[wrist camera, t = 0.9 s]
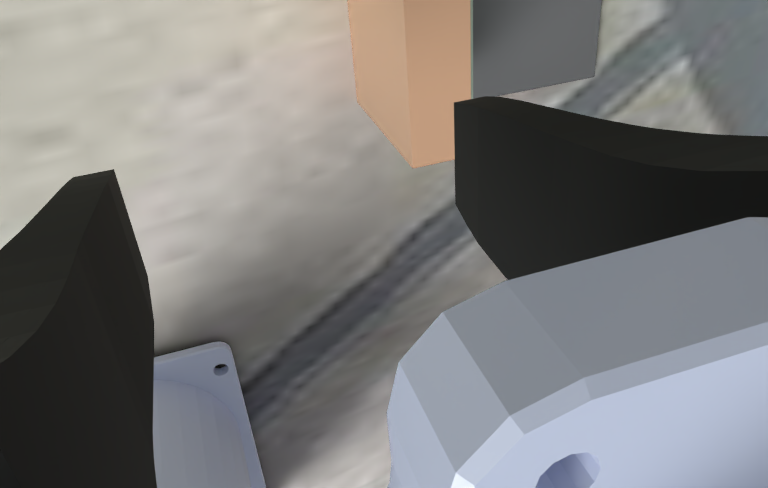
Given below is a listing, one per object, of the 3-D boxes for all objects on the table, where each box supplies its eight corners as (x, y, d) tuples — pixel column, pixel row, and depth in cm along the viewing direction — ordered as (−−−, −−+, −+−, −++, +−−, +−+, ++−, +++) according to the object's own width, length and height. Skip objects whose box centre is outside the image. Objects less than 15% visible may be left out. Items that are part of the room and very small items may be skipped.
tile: (410, 91, 22) (476, 154, 18) (357, 102, 22) (412, 168, 18) (400, -81, 19) (476, -52, 15) (340, -73, 19) (401, -41, 15)
